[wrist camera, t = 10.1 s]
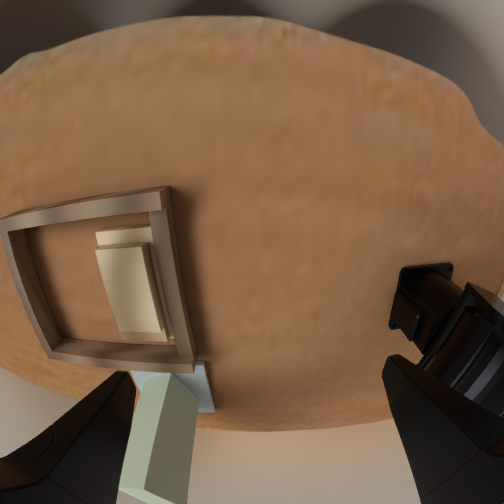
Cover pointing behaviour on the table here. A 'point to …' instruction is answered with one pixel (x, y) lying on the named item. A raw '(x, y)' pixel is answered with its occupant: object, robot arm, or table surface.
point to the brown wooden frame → (168, 267)
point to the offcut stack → (133, 282)
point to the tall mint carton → (161, 442)
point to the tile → (187, 384)
